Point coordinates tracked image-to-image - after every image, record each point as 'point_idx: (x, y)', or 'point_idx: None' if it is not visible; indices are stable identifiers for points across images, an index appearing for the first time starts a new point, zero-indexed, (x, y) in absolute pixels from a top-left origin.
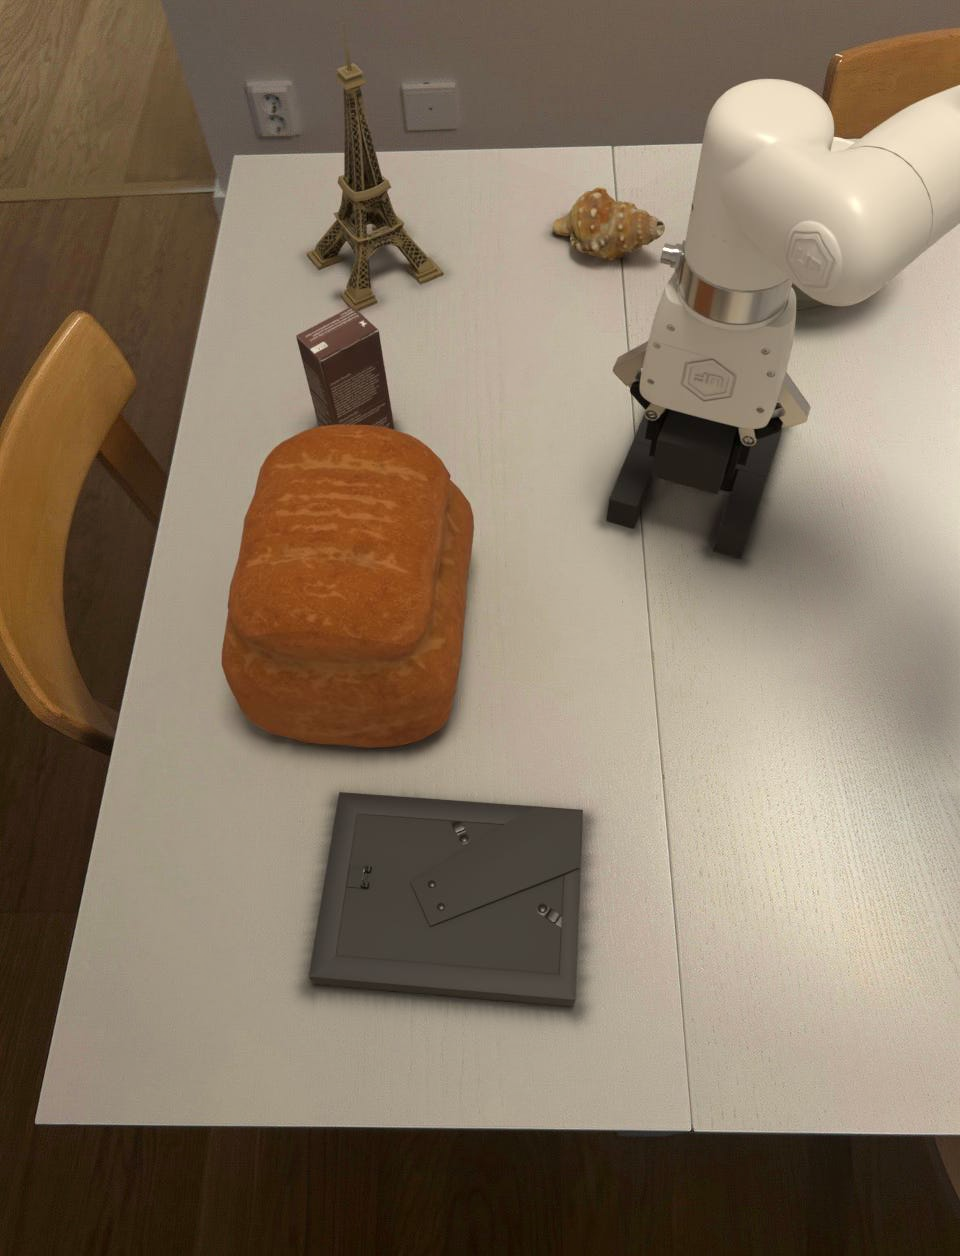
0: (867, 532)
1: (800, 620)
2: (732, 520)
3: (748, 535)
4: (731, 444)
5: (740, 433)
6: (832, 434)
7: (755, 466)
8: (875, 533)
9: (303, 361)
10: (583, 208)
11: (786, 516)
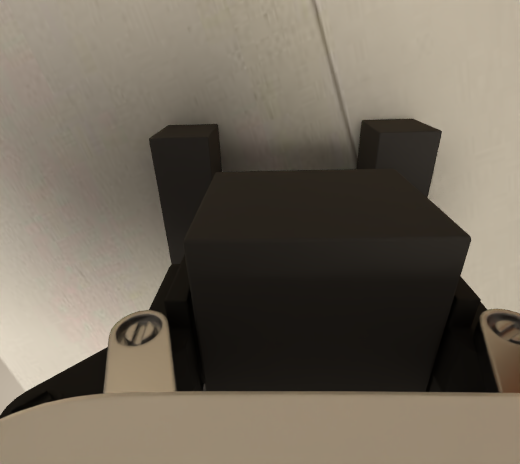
0: (28, 243)
1: (18, 27)
2: (191, 168)
3: (150, 145)
4: (194, 300)
5: (165, 348)
6: None
7: None
8: (18, 245)
9: None
10: None
11: (140, 231)
